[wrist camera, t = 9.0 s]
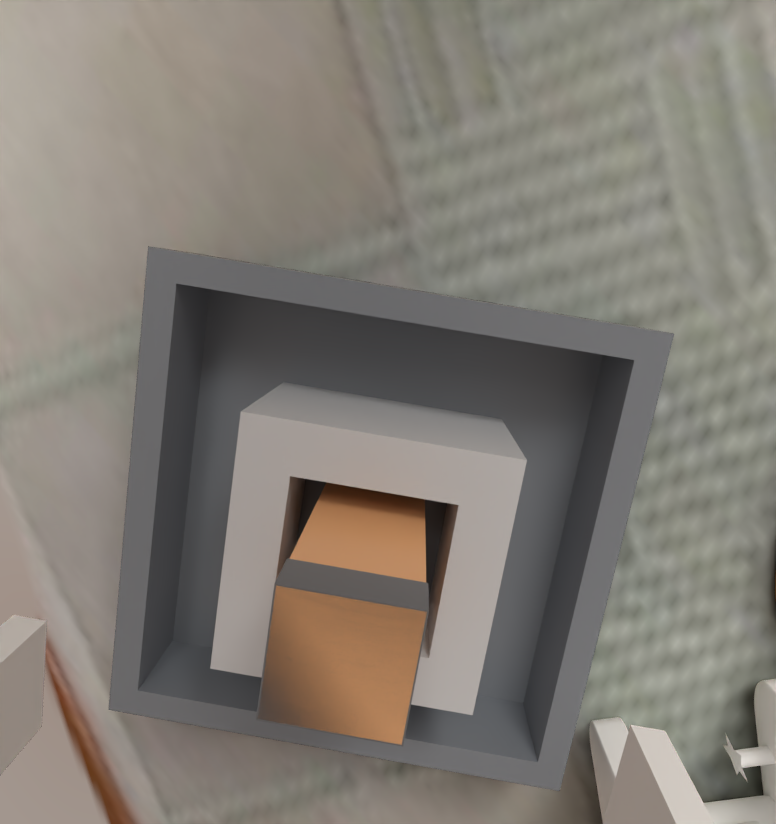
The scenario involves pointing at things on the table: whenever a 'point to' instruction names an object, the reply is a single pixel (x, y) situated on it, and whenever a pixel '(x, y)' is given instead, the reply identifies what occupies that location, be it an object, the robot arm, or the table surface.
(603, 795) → the cable organizer
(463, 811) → the table surface
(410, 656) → the plug
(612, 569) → the box
